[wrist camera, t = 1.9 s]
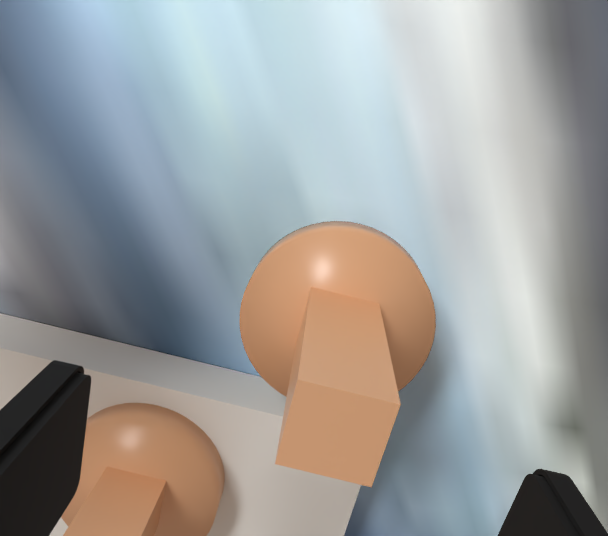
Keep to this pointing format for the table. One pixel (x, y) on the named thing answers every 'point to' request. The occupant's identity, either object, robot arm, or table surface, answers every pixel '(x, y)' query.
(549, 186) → the table surface
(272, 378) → the dome with square post
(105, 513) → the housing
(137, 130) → the table surface
